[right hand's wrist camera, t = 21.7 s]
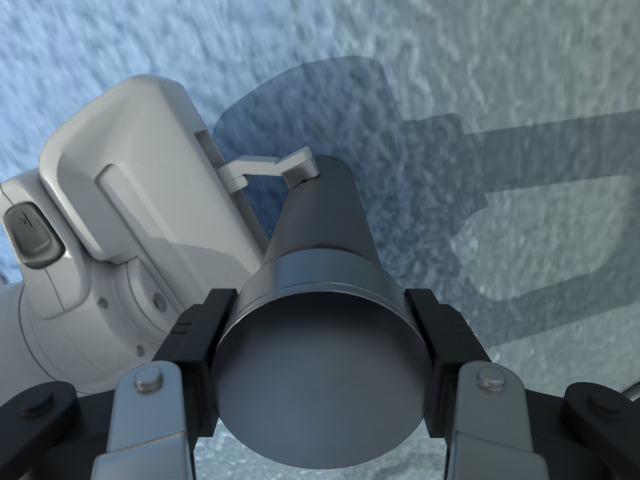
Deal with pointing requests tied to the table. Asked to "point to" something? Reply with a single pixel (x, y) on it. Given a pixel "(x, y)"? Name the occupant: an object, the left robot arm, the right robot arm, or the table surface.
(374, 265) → the lid
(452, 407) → the right robot arm
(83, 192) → the left robot arm
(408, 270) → the table surface
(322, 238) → the dark grey cylinder
